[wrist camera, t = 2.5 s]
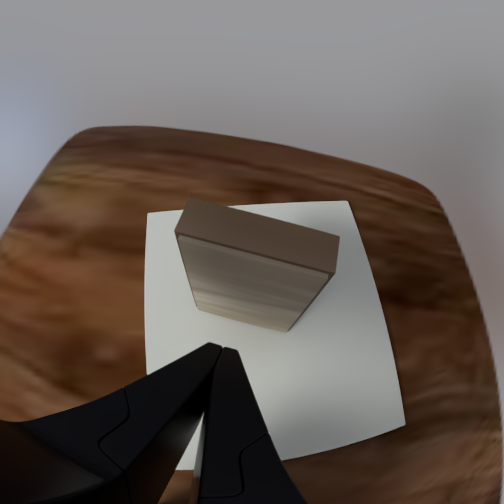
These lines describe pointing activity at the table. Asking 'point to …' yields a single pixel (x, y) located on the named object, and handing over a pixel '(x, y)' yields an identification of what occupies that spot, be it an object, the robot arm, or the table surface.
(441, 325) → the table surface
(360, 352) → the mat
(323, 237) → the tile
